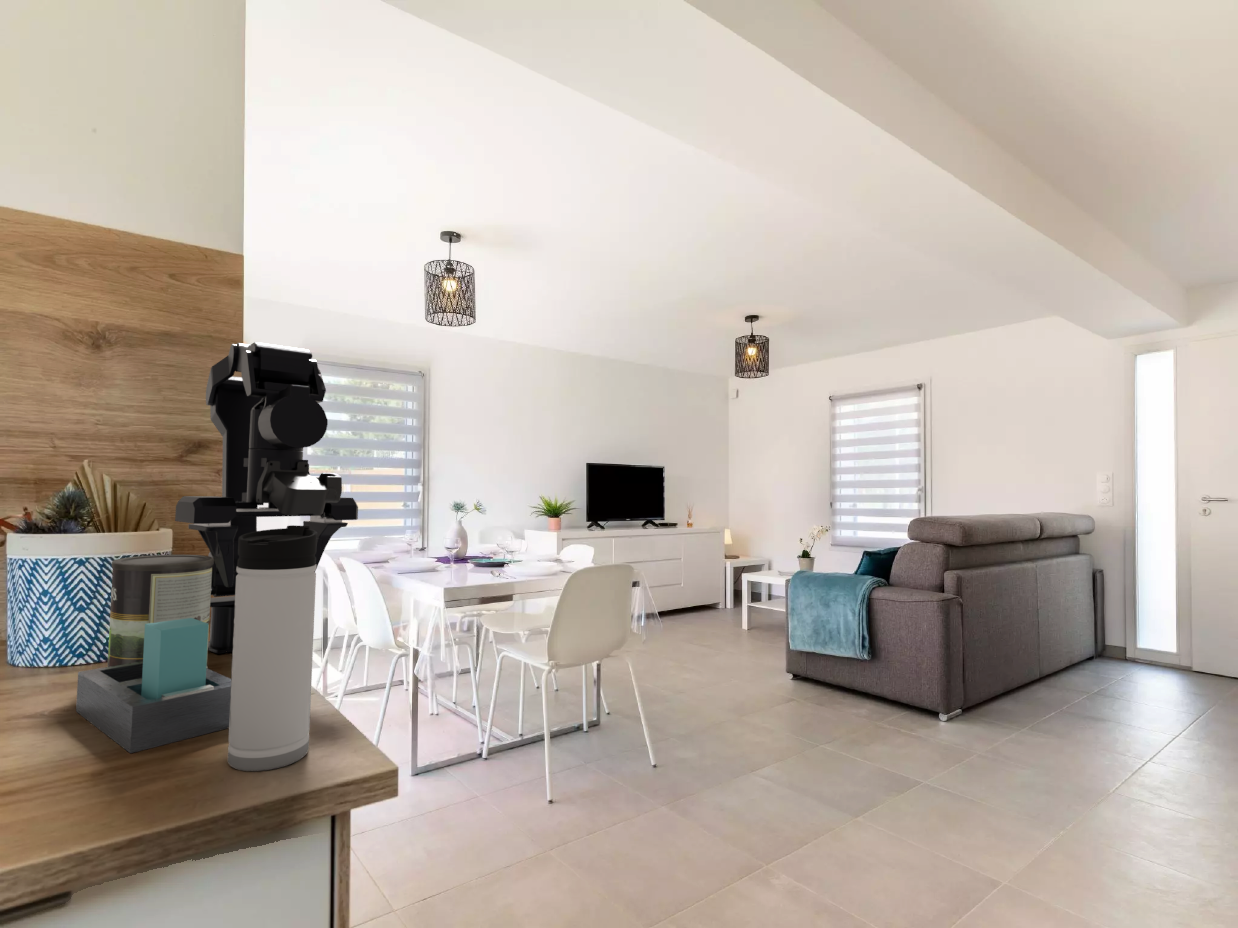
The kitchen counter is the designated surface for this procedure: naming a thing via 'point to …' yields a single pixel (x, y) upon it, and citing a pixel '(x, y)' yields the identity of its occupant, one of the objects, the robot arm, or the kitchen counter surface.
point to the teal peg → (174, 657)
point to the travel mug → (272, 648)
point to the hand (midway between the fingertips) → (270, 582)
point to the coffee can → (155, 598)
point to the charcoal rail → (150, 707)
